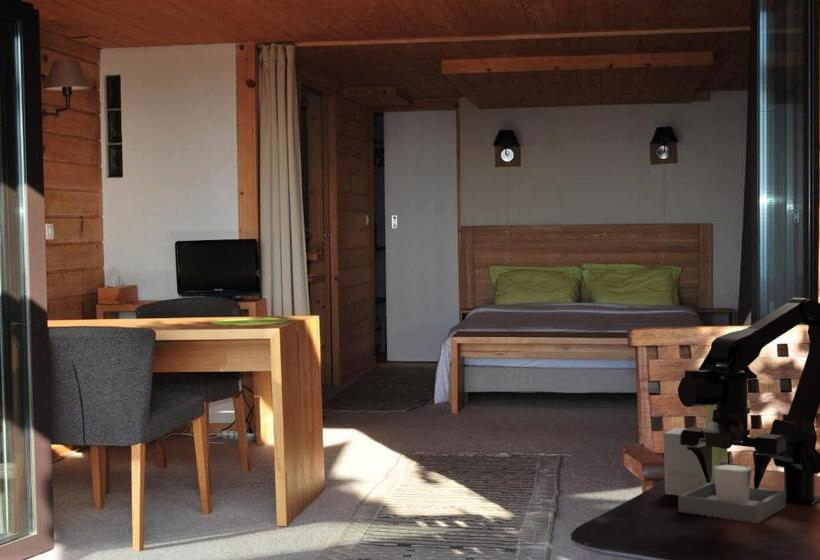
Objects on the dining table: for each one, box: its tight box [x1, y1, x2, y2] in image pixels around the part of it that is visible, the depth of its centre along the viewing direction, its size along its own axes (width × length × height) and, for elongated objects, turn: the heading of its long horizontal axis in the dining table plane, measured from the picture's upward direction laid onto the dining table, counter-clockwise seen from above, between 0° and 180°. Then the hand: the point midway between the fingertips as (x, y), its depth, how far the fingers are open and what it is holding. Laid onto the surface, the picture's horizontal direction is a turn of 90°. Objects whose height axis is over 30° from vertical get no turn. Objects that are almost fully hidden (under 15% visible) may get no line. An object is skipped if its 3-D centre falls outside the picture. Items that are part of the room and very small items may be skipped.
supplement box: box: [663, 427, 707, 496], centre depth 214 cm, size 7×7×13 cm
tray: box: [677, 482, 787, 524], centre depth 200 cm, size 15×15×3 cm
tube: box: [704, 404, 729, 482], centre depth 225 cm, size 6×5×20 cm
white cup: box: [714, 463, 752, 504], centre depth 200 cm, size 7×7×7 cm
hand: (732, 485), depth 200 cm, fingers open, 9 cm apart
